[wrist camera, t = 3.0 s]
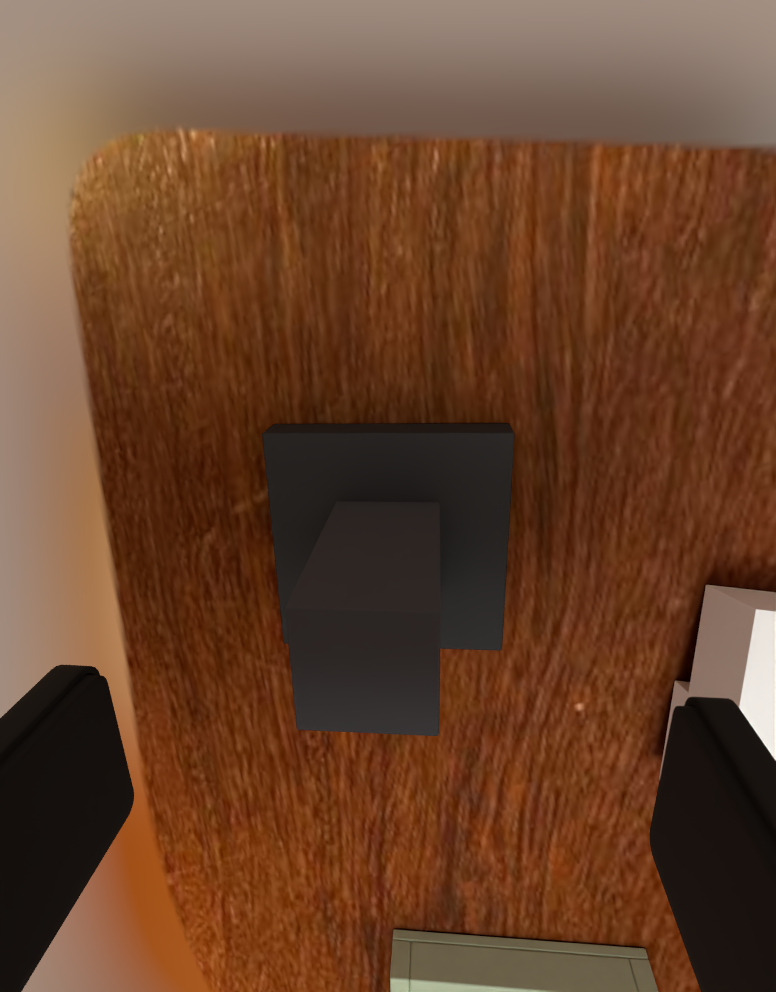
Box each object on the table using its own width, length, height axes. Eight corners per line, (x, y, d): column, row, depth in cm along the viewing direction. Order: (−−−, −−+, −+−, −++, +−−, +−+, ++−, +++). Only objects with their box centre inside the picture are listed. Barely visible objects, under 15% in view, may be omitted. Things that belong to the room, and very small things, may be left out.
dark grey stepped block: (292, 623, 19) (216, 796, 13) (273, 423, 17) (167, 509, 10) (498, 629, 18) (530, 814, 12) (509, 422, 16) (558, 514, 10)
